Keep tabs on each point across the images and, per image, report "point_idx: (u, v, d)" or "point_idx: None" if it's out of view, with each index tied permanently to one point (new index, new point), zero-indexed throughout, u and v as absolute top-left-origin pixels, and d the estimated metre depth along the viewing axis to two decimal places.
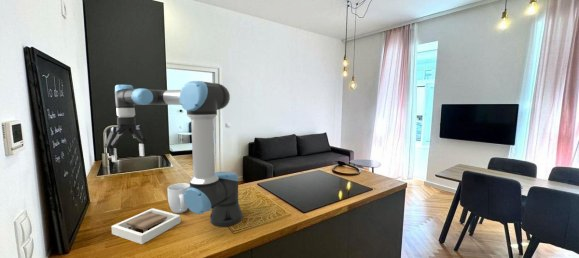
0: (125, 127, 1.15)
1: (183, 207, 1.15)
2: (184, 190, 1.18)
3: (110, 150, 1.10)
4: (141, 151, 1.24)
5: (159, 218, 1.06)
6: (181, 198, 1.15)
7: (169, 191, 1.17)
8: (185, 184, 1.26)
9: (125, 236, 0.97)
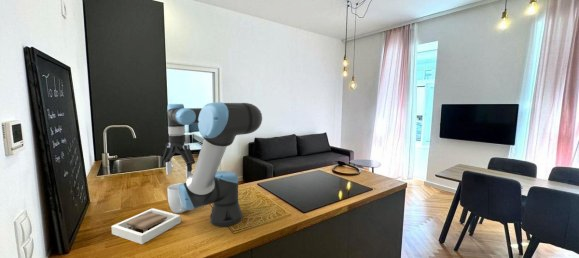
0: (173, 145, 1.18)
1: (183, 207, 1.15)
2: None
3: None
4: None
5: (159, 218, 1.06)
6: None
7: (169, 191, 1.17)
8: None
9: (125, 236, 0.97)
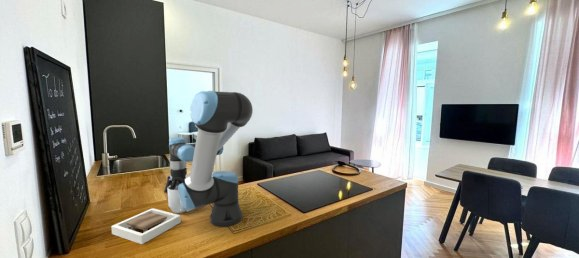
0: (175, 178, 1.20)
1: (183, 207, 1.15)
2: None
3: None
4: None
5: (159, 218, 1.06)
6: None
7: (169, 191, 1.17)
8: None
9: (125, 236, 0.97)
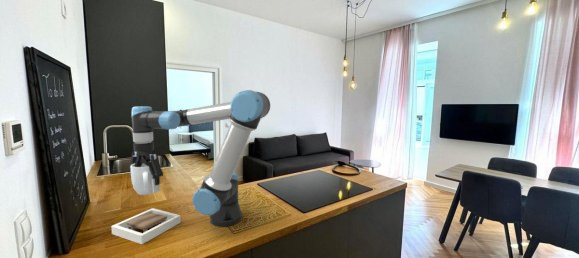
0: (139, 153, 1.02)
1: (147, 187, 0.97)
2: None
3: None
4: None
5: (159, 218, 1.06)
6: (145, 176, 0.97)
7: (132, 168, 0.99)
8: None
9: (125, 236, 0.97)
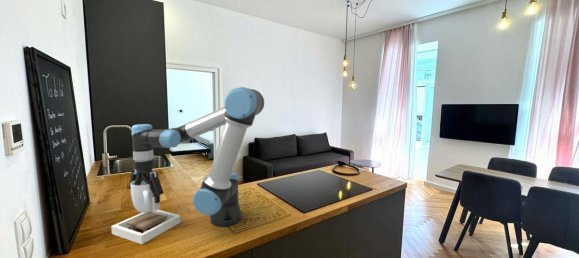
0: (139, 171, 1.02)
1: (147, 205, 0.98)
2: None
3: None
4: None
5: (159, 218, 1.06)
6: (145, 195, 0.98)
7: (132, 187, 1.00)
8: None
9: (125, 236, 0.97)
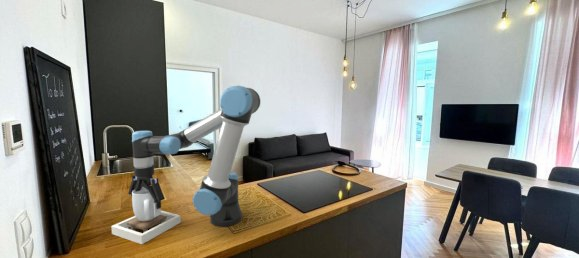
0: (140, 178, 1.03)
1: (148, 215, 0.98)
2: None
3: None
4: None
5: (159, 218, 1.06)
6: (146, 204, 0.98)
7: (133, 195, 1.00)
8: None
9: (125, 236, 0.97)
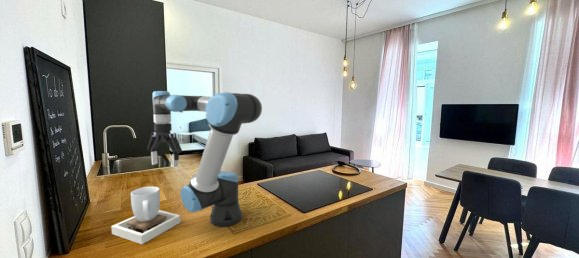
0: (159, 133, 1.15)
1: (147, 216, 0.98)
2: (149, 195, 1.01)
3: None
4: None
5: (159, 218, 1.06)
6: (144, 205, 0.98)
7: (132, 196, 1.00)
8: (154, 188, 1.09)
9: (125, 236, 0.97)
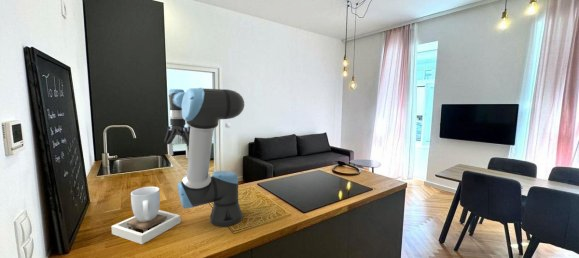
0: (174, 127, 1.27)
1: (147, 216, 0.98)
2: (149, 195, 1.01)
3: None
4: None
5: (159, 218, 1.06)
6: (144, 205, 0.98)
7: (132, 196, 1.00)
8: (154, 188, 1.09)
9: (125, 236, 0.97)
